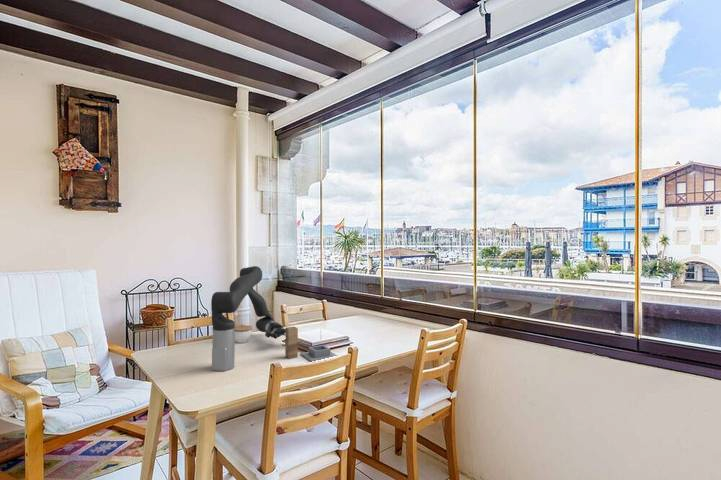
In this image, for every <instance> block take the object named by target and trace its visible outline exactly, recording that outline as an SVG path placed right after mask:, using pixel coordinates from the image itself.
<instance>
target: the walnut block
mask: <svg viewBox="0 0 721 480" xmlns="http://www.w3.org/2000/svg"><path fill="white" fill-rule="evenodd" d="M285 329H286V336H285V349H284V351H285V353H284V354H285V358H286V359H288V360H292V359H297V358H298V357H299V356H298V351H299V349H298V348H299V347H298V344H299V341H298V339H299V338H298V337H299V335H298V333H299V329H298V327H296V326H287V327H285Z"/></svg>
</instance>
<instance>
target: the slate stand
mask: <svg viewBox="0 0 721 480" xmlns="http://www.w3.org/2000/svg"><path fill="white" fill-rule="evenodd" d="M307 349H308V350H307V351H306V352H305V351H304V352H300V353H299V354H300V356H301V357H303V358H305V359H306V360H307V361H308V362H310V363H311V362H312V361H316V360H321V359H325V358H329V357H333V356H338V355H337V354H335V353H333V352H332V351H331V348H329V347H327V346H326V345H324V344H322V345H321V344H320V345H315V346H309V347H308V348H307ZM312 363H313V362H312Z"/></svg>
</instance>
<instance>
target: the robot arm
mask: <svg viewBox="0 0 721 480" xmlns="http://www.w3.org/2000/svg"><path fill="white" fill-rule="evenodd" d="M262 279H263V271H262V269H261V267H259V266H258V265H257V266H256V265H255V266H254V265H252V266H247V267H243V268H241V269H240V270H239V276H238V277H237V278H235V279H234V280H233V281H232V282H231V283H230V286H229V291H215V292H214V293H213V294H212V297H211V302H210V305H211V306H210V307H211V308H210V309H211V324H212V341H211V342H212V349H211V371H217V372H218V371H221V372H225V371H226V372H227V371H228V370H231V369H233V368H235V345H236V344H235V343H236V341H235V326H236V324H235V321H234V320H233V319H230V318H228V317H226V316H225V315H224V314H232V313H235V312H236V311H237V310H238V308H239V306H240V305H241V303H242V302H243V300H244V298H245V297H246V296H248V297H249V299H250V302H251V304H252V306H253V310H254V313H255V316H256V317H258V318H259V319H257V321H256V322H255V327H256V329H257V330H258V331H259V332H261V333H264V335H265V337H266V338H268V339H270V338H273V339H275V340H276V339H277V338H280V337H281V336H282V337H283V336H284V337H286V327H285V328H284V326H283V325H282V324H281V323H279V322H277V321H275V318H274V317H273V315H272V314H271V313H270V311H269V310H268V306H267V303H266V300H265V298H264V297H263V296H262V295H261V294H260V293H259V292H257V291H256V290H255V289H254V287H255V286H257V285H258V284H259V283H261V281H262Z"/></svg>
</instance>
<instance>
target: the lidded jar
mask: <svg viewBox="0 0 721 480" xmlns="http://www.w3.org/2000/svg"><path fill="white" fill-rule="evenodd" d="M252 334H253V327H252V326H251V325H245V324H243V323H242V324H241V325H235V343H237V344H244V343H248V342H249V340H250V339H251V337H252Z"/></svg>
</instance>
